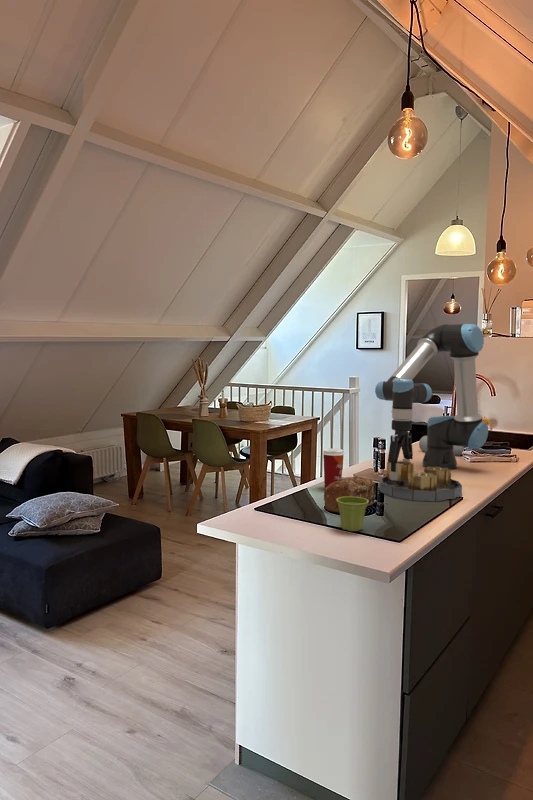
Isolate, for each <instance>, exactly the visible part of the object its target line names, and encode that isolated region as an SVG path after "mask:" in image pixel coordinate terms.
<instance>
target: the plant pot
mask: <svg viewBox="0 0 533 800" xmlns="http://www.w3.org/2000/svg"><path fill="white" fill-rule="evenodd" d="M336 501H337V502H338V506H339V511H340V513H339V515H340V525H341V530H344V531H345V530H346V531H348V532H358V531H361V530H362V529H363V526H364V520H365V519H364V518H365V514H366V509H367V508H366V506H367V503H368V502H369V501H368V500H367V499H365V498H361V497H340V498H337V499H336Z"/></svg>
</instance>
